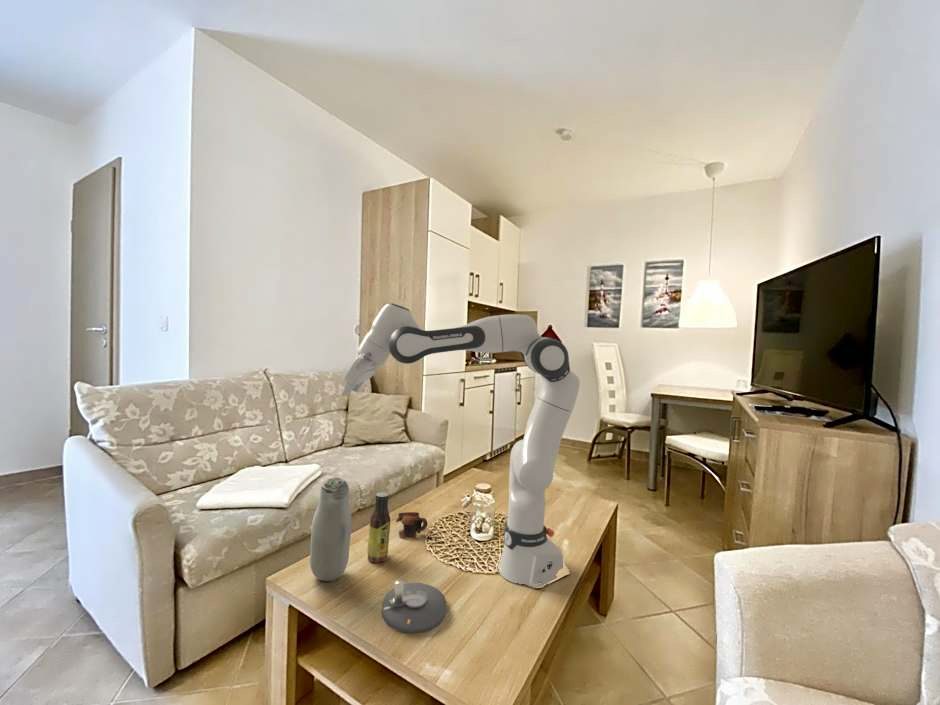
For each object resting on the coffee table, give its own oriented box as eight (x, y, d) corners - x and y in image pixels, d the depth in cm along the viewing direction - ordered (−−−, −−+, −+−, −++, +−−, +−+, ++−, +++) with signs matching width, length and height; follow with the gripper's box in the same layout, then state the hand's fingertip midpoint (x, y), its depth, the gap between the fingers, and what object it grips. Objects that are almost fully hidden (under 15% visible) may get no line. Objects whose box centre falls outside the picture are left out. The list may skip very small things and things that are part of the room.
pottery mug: (390, 538, 137) (391, 512, 140) (402, 539, 145) (403, 515, 148) (422, 536, 134) (423, 510, 137) (433, 537, 142) (433, 512, 146)
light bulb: (421, 591, 106) (423, 569, 105) (430, 605, 100) (431, 582, 100) (386, 599, 101) (388, 576, 101) (393, 615, 96) (394, 590, 96)
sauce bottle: (382, 565, 120) (387, 500, 119) (363, 561, 121) (367, 497, 120) (391, 554, 126) (395, 492, 125) (372, 550, 127) (377, 489, 127)
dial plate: (432, 584, 113) (432, 576, 112) (455, 623, 98) (456, 614, 98) (375, 597, 105) (375, 589, 105) (391, 641, 91) (392, 631, 91)
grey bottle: (301, 581, 109) (307, 481, 108) (327, 562, 119) (333, 470, 118) (330, 592, 106) (337, 488, 105) (354, 572, 115) (361, 476, 114)
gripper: (374, 360, 108) (349, 404, 108) (388, 356, 129) (367, 393, 129) (354, 348, 108) (328, 392, 108) (371, 346, 128) (350, 383, 129)
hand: (349, 392), depth 119 cm, fingers open, 8 cm apart
